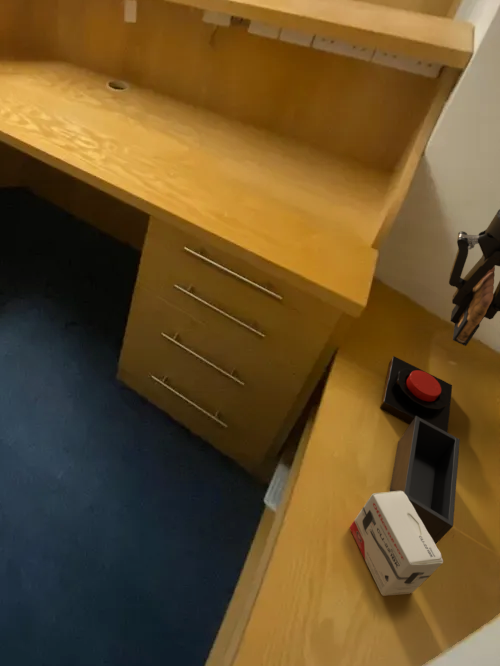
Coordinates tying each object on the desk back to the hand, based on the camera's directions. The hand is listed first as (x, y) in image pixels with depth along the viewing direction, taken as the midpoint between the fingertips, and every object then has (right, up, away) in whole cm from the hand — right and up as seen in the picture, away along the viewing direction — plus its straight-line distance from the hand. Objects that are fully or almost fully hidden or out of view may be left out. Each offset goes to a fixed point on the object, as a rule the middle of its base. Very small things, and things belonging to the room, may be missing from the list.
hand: (462, 321), depth 89 cm
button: (-2, -16, +7) cm, 17 cm away
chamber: (-12, -27, -4) cm, 30 cm away
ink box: (-23, -31, -12) cm, 41 cm away
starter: (-2, -19, +9) cm, 21 cm away
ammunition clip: (0, 0, 0) cm, 1 cm away
